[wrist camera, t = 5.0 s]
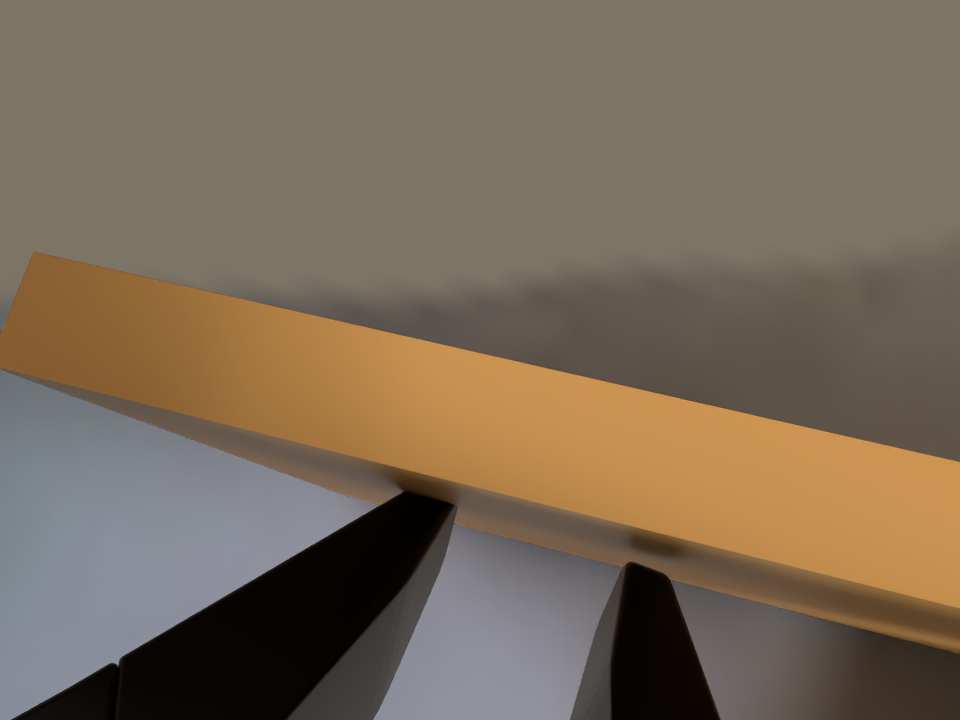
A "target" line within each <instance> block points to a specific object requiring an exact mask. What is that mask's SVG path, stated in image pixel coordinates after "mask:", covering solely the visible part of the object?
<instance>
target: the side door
mask: <svg viewBox="0 0 960 720" xmlns="http://www.w3.org/2000/svg"><path fill="white" fill-rule="evenodd" d="M0 369H1V370H3V371H6V372H9V373H11V374H14V375H17V376H20V377H22V378H25V379H28V380H31V381H33V382H36V383H39V384H42V385H44V386H47V387H50V388H52V389H55V390H58V391H61V392H63V393H66V394H69V395H72V396H74V397H77V398H80V399H83V400H85V401H88V402H91V403H93V404H96V405H99V406H102V407H104V408H107V409H110V410H113V411H115V412H118V413H121V414H124V415H126V416H129V417H132V418H135V419H137V420H140V421H143V422H145V423H148V424H151V425H154V426H156V427H159V428H162V429H165V430H167V431H170V432H173V433H176V434H178V435H181V436H184V437H186V438H189V439H192V440H195V441H197V442H200V443H203V444H206V445H208V446H211V447H214V448H217V449H219V450H222V451H225V452H227V453H230V454H233V455H236V456H238V457H241V458H244V459H247V460H249V461H252V462H255V463H258V464H260V465H263V466H266V467H269V468H271V469H274V470H277V471H279V472H282V473H285V474H288V475H290V476H293V477H296V478H299V479H301V480H304V481H307V482H310V483H312V484H315V485H318V486H320V487H323V488H326V489H329V490H331V491H334V492H337V493H340V494H342V495H345V496H348V497H352V498H356V499H360V500H364V501H367V502H371V503H375V504H379V505H382V504H383V503H385V502H387V501H388V500H390V499H392V498H393V497H395V496H397V495H399V494H400V493H402V492H404V491H405V492H409V493H413V494H417V495H421V496H424V497H428V498H432V499H436V500H440V501H443V502H447V503H451V504H454V505H456V506H457V507H458V509H457V513H456V517H455V521H454V524H457V525H461V526H464V527H468V528H472V529H476V530H480V531H484V532H488V533H492V534H495V535H499V536H503V537H507V538H511V539H515V540H519V541H523V542H526V543H530V544H534V545H538V546H542V547H546V548H550V549H554V550H557V551H561V552H565V553H569V554H573V555H577V556H581V557H585V558H589V559H592V560H596V561H600V562H604V563H608V564H612V565H616V566H620V567H624V565H625V564H626V563H628V562H636V563H638V564H641V565H644V566H646V567H649V568H652V569H654V570H657V571H659V572H662V573H664V574H665V575H667V576H668V578H669V579H670V580H674V581H678V582H682V583H685V584H689V585H693V586H697V587H701V588H705V589H709V590H713V591H716V592H720V593H724V594H728V595H732V596H736V597H740V598H744V599H748V600H751V601H755V602H759V603H763V604H767V605H771V606H775V607H779V608H782V609H786V610H790V611H794V612H798V613H802V614H806V615H810V616H813V617H817V618H821V619H825V620H829V621H833V622H837V623H841V624H844V625H848V626H852V627H856V628H860V629H864V630H868V631H872V632H876V633H879V634H883V635H887V636H891V637H895V638H899V639H903V640H907V641H910V642H914V643H918V644H922V645H926V646H930V647H934V648H938V649H941V650H945V651H949V652H953V653H957V654H960V462H957V461H953V460H948V459H944V458H940V457H935V456H931V455H926V454H922V453H918V452H913V451H909V450H904V449H900V448H896V447H891V446H887V445H882V444H878V443H874V442H869V441H865V440H860V439H856V438H852V437H847V436H843V435H838V434H834V433H830V432H825V431H821V430H816V429H812V428H808V427H803V426H799V425H794V424H790V423H786V422H781V421H777V420H772V419H768V418H764V417H759V416H755V415H750V414H746V413H742V412H737V411H733V410H728V409H724V408H720V407H715V406H711V405H706V404H702V403H697V402H693V401H689V400H684V399H680V398H675V397H671V396H667V395H662V394H658V393H653V392H649V391H645V390H640V389H636V388H631V387H627V386H623V385H618V384H614V383H609V382H605V381H601V380H596V379H592V378H587V377H583V376H579V375H574V374H570V373H565V372H561V371H557V370H552V369H548V368H543V367H539V366H535V365H530V364H526V363H521V362H517V361H513V360H508V359H504V358H499V357H495V356H491V355H486V354H482V353H477V352H473V351H468V350H464V349H460V348H455V347H451V346H446V345H442V344H438V343H433V342H429V341H424V340H420V339H416V338H411V337H407V336H402V335H398V334H394V333H389V332H385V331H380V330H376V329H372V328H367V327H363V326H358V325H354V324H350V323H345V322H341V321H336V320H332V319H328V318H323V317H319V316H314V315H310V314H306V313H301V312H297V311H292V310H288V309H284V308H279V307H275V306H270V305H266V304H262V303H257V302H253V301H248V300H244V299H240V298H235V297H231V296H226V295H222V294H217V293H213V292H209V291H204V290H200V289H195V288H191V287H187V286H182V285H178V284H173V283H169V282H165V281H160V280H156V279H151V278H147V277H143V276H138V275H134V274H129V273H125V272H121V271H116V270H112V269H107V268H103V267H98V266H94V265H90V264H85V263H81V262H76V261H72V260H68V259H63V258H59V257H55V256H50V255H45V254H41V253H37V252H34V253H33V255H32V257H31V260H30V262H29V265H28V267H27V270H26V272H25V275H24V277H23V279H22V282H21V284H20V287H19V289H18V292H17V294H16V297H15V299H14V302H13V304H12V307H11V309H10V312H9V314H8V317H7V319H6V322H5V324H4V327H3V329H2V332H1V334H0Z"/></svg>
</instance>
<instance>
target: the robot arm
mask: <svg viewBox="0 0 960 720" xmlns="http://www.w3.org/2000/svg"><path fill="white" fill-rule="evenodd" d="M457 509H458V507H457V506H456V505H454V504H451V503H447V502H443V501H440V500H436V499H432V498H428V497H424V496H421V495H417V494H413V493H409V492H405V491H404V492H402V493H400V494H399V495H397V496H395V497H393V498H392V499H390V500H388V501H387V502H385V503H383V504H382V505H380V506H378V507H376V508H375V509H373V510H371V511H370V512H368V513H366V514H365V515H363V516H361V517H359V518H358V519H356V520H354V521H353V522H351V523H349V524H347V525H346V526H344V527H342V528H341V529H339V530H337V531H336V532H334V533H332V534H330V535H329V536H327V537H325V538H324V539H322V540H320V541H319V542H317V543H315V544H313V545H312V546H310V547H308V548H307V549H305V550H303V551H302V552H300V553H298V554H296V555H295V556H293V557H291V558H290V559H288V560H286V561H284V562H283V563H281V564H279V565H278V566H276V567H274V568H273V569H271V570H269V571H267V572H266V573H264V574H262V575H261V576H259V577H257V578H256V579H254V580H252V581H250V582H249V583H247V584H245V585H244V586H242V587H240V588H239V589H237V590H235V591H233V592H232V593H230V594H228V595H227V596H225V597H223V598H221V599H220V600H218V601H216V602H215V603H213V604H211V605H210V606H208V607H206V608H204V609H203V610H201V611H199V612H198V613H196V614H194V615H193V616H191V617H189V618H187V619H186V620H184V621H182V622H181V623H179V624H177V625H176V626H174V627H172V628H170V629H169V630H167V631H165V632H164V633H162V634H160V635H158V636H157V637H155V638H153V639H152V640H150V641H148V642H147V643H145V644H143V645H141V646H140V647H138V648H136V649H135V650H133V651H131V652H130V653H128V654H126V655H124V656H123V657H121V658H120V660H119V666H117V665H116V664H115V663H110V664H108V665H106V666H105V667H103V668H101V669H100V670H98V671H96V672H95V673H93V674H91V675H90V676H88V677H86V678H84V679H83V680H81V681H79V682H78V683H76V684H74V685H73V686H71V687H69V688H67V689H66V690H64V691H62V692H60V693H58V694H57V695H55V696H53V697H51V698H49V699H48V700H46V701H44V702H42V703H40V704H39V705H37V706H35V707H33V708H31V709H30V710H28V711H26V712H24V713H22V714H21V715H19V716H17V717H15V718H13V719H12V720H373V719H374V717H375V715H376V714H377V712H378V710H379V708H380V706H381V704H382V702H383V700H384V698H385V695H386V693H387V691H388V689H389V687H390V685H391V682H392V680H393V678H394V676H395V673H396V671H397V669H398V666H399V664H400V662H401V659H402V657H403V655H404V653H405V650H406V648H407V646H408V643H409V641H410V639H411V636H412V634H413V632H414V629H415V627H416V625H417V623H418V620H419V618H420V616H421V613H422V611H423V609H424V606H425V604H426V602H427V599H428V597H429V595H430V593H431V590H432V588H433V586H434V583H435V581H436V579H437V576H438V574H439V572H440V569H441V566H442V564H443V561H444V558H445V554H446V551H447V547H448V543H449V539H450V536H451V532H452V528H453V524H454V521H455V517H456V513H457ZM570 720H720V717H719V714H718V711H717V708H716V706H715V703H714V700H713V697H712V694H711V692H710V689H709V686H708V683H707V681H706V678H705V675H704V672H703V669H702V667H701V664H700V661H699V658H698V656H697V653H696V650H695V647H694V644H693V642H692V639H691V636H690V633H689V630H688V628H687V625H686V622H685V619H684V617H683V614H682V611H681V608H680V605H679V603H678V600H677V597H676V594H675V592H674V589H673V586H672V583H671V581H670V579H669V578H668V576H667V575H665V574H664V573H662V572H659V571H657V570H654V569H652V568H649V567H646V566H644V565H641V564H638V563H636V562H628V563H626V564H625V565H624V567H623V568H622V570H621V573H620V575H619V577H618V579H617V582H616V584H615V586H614V588H613V591H612V593H611V595H610V597H609V600H608V602H607V604H606V607H605V609H604V611H603V613H602V616H601V618H600V621H599V623H598V626H597V629H596V632H595V635H594V639H593V642H592V646H591V649H590V652H589V656H588V659H587V663H586V666H585V670H584V673H583V677H582V680H581V684H580V687H579V691H578V694H577V698H576V701H575V704H574V708H573V711H572V715H571V718H570Z"/></svg>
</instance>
